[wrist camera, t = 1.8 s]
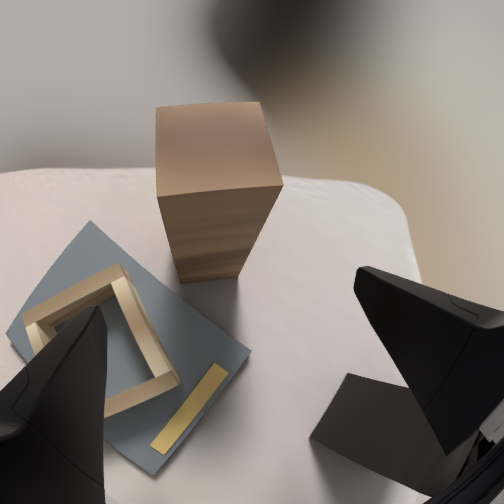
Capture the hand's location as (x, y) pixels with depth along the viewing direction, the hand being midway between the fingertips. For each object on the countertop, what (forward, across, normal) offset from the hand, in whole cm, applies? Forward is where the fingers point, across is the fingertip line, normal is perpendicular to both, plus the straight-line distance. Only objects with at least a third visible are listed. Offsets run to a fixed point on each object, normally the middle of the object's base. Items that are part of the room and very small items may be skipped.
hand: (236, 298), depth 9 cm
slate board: (+8, +8, +9) cm, 15 cm away
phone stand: (+1, -10, +17) cm, 20 cm away
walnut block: (+13, 0, +5) cm, 14 cm away
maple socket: (+7, +8, +9) cm, 14 cm away
